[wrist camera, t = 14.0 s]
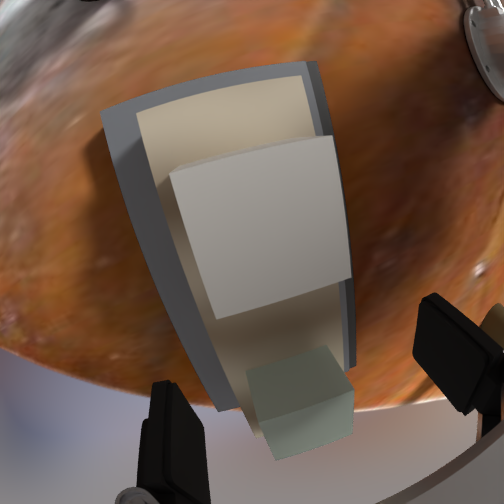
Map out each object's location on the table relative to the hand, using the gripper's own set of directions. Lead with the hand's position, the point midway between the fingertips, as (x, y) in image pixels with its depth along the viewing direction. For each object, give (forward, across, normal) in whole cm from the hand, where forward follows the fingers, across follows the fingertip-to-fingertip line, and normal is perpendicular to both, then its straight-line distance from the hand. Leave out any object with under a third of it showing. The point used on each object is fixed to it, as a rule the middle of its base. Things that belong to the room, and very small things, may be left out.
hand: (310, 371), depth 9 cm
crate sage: (+4, 0, +5) cm, 7 cm away
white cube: (+4, 0, -5) cm, 7 cm away
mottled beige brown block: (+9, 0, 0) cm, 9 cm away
